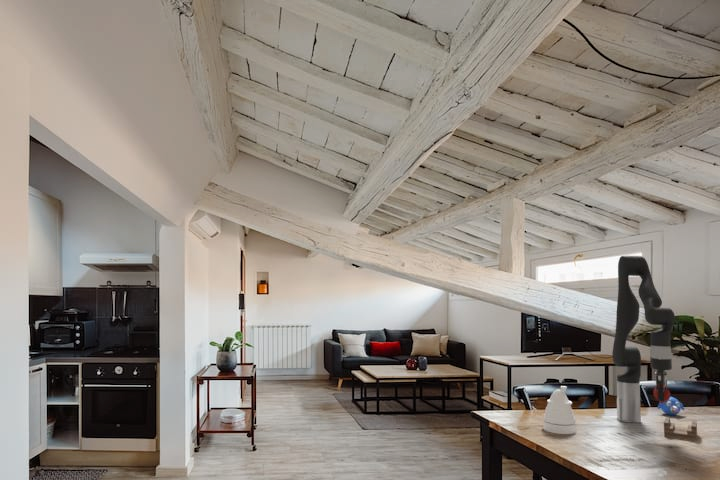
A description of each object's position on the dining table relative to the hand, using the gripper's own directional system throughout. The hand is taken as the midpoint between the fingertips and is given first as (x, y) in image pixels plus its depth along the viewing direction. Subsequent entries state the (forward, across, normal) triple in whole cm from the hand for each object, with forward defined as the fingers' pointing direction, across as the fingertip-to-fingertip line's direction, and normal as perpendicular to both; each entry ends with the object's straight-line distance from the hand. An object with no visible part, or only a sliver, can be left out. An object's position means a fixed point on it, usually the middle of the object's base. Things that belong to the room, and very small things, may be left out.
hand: (662, 399), depth 213 cm
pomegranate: (+2, 0, 0) cm, 2 cm away
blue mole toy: (+16, -50, -1) cm, 52 cm away
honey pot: (+16, +14, -36) cm, 42 cm away
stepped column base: (+15, -8, +6) cm, 18 cm away
